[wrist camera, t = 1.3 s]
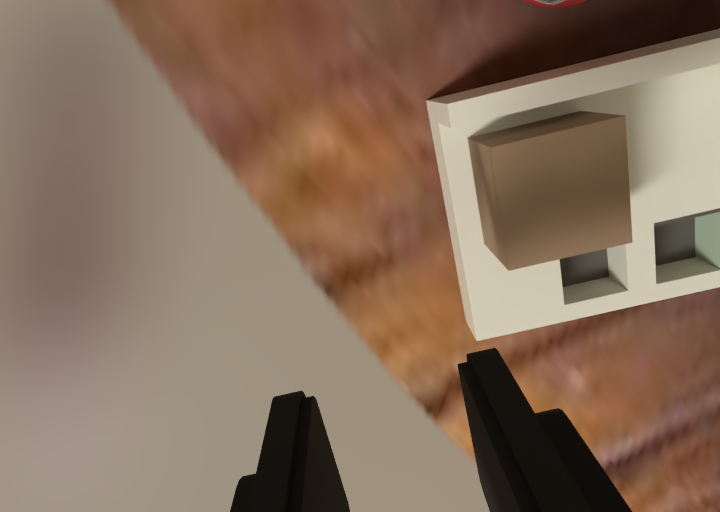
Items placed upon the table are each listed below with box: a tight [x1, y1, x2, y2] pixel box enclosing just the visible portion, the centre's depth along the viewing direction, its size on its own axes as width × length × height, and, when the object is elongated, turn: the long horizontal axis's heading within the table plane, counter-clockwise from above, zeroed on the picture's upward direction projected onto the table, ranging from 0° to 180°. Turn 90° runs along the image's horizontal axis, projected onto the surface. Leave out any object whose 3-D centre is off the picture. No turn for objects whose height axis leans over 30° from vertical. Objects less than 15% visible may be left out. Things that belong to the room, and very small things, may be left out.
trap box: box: [426, 29, 720, 341], centre depth 25 cm, size 13×18×6 cm
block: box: [467, 111, 633, 271], centre depth 23 cm, size 6×6×4 cm
